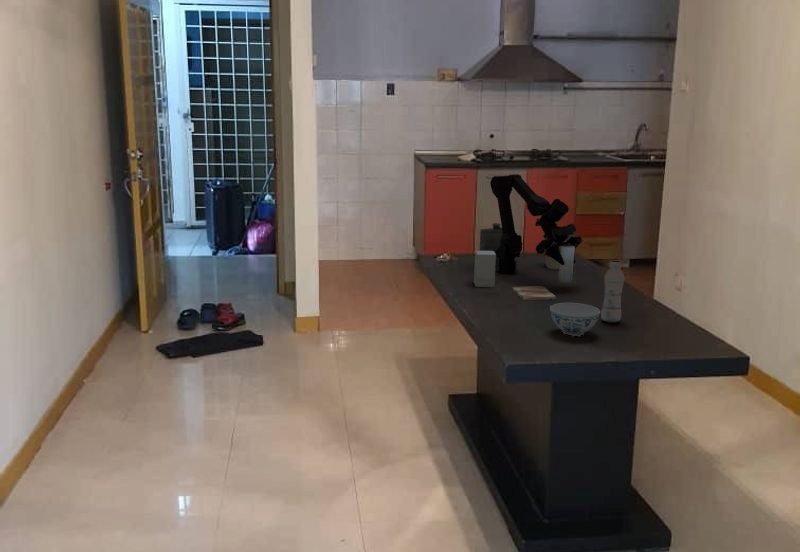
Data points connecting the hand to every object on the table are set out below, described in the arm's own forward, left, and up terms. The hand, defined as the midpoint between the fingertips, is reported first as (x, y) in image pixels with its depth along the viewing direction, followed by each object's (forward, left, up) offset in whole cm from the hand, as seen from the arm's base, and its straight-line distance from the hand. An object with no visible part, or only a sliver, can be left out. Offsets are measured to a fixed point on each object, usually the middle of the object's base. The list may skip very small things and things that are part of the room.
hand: (569, 263), depth 287 cm
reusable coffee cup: (-9, +40, -11) cm, 42 cm away
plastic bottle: (+18, -32, -11) cm, 38 cm away
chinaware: (+8, -49, -11) cm, 51 cm away
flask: (-34, +32, -11) cm, 48 cm away
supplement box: (-31, -1, -11) cm, 33 cm away
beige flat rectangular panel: (-11, -8, -11) cm, 17 cm away
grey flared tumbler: (-1, +1, -7) cm, 7 cm away
